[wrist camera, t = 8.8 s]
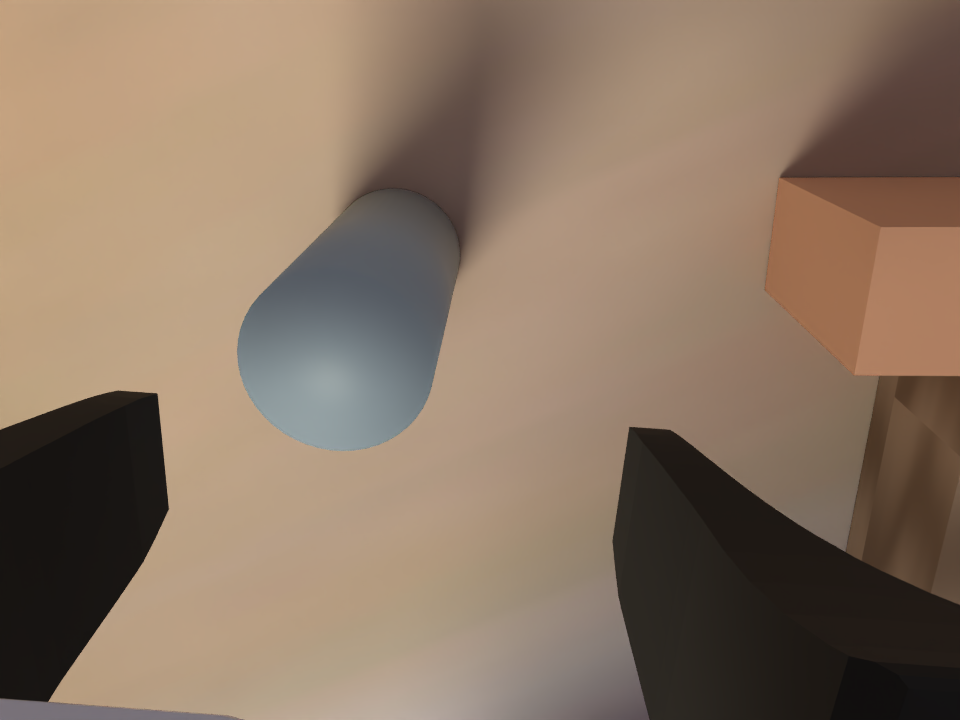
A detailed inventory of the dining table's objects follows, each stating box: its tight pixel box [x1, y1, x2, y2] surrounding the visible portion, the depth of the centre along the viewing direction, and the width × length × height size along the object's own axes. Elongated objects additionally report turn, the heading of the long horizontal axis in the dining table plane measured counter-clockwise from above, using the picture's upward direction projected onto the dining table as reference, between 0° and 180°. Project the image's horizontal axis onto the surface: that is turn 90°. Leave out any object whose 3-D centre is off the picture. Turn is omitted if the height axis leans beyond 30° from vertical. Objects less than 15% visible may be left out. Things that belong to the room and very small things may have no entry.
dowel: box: [237, 188, 460, 451], centre depth 18 cm, size 4×4×8 cm
